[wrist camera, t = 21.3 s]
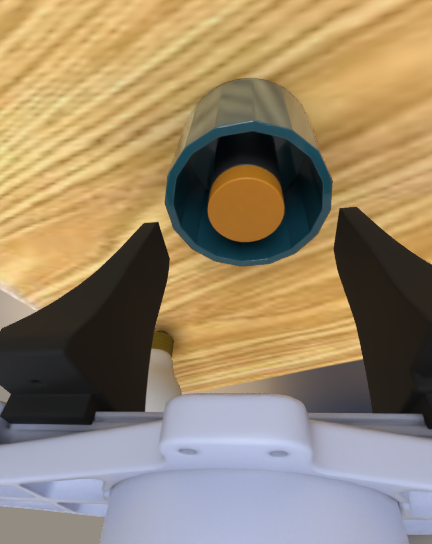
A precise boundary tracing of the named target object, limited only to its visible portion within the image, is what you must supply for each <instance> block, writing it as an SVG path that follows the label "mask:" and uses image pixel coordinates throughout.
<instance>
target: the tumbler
mask: <svg viewBox="0 0 432 544" xmlns="http://www.w3.org/2000/svg"><path fill="white" fill-rule="evenodd" d="M251 131H255V132H259V133H263V134H268V135H271V137H272V138H273V140H274V143H275V148H276V154H277V161H278V167H279V174H280V180H281V186H282V193H283V199H284V206H285V211H284V216H283V219H282V221H281V223H280V225H279V226H278V228H277V229H276V230H275V231H274V232H273V233H271V234H270V235H268V236H267V237H265V238H263V239H260V240H257V241H252V242H238V241H234V240H231V239H228V238H226V237H224V236H222V235H221V234H220V233H218V232H217V231H216V230H215V228H214V227H213V226H212V224H211V222H210V220H209V217H208V202H209V195H210V188H211V181H212V174H213V167H214V160H215V153H216V147H217V143H218V141H219V139H220V137H221V136H227V135H233V134H239V133H245V132H251ZM332 183H333V181H332V177H331V175H330V172H329V170H328V167H327V164H326V162H325V159H324V156H323V154H322V151H321V149H320V146H319V143H318V141H317V138H316V136H315V133H314V130H313V128H312V126H311V123H310V121H309V119H308V116H307V114H306V112H305V110H304V108H303V106H302V104H301V103H300V102H299V101H298V100H297V99H296V98H295V97H294V96H293V95H292V94H291V93H290V92H289V91H287V90H286V89H285V88H283V87H281V86H279V85H277V84H276V83H273V82H270V81H267V80H262V79H256V78H245V79H237V80H233V81H230V82H227V83H224V84H222V85H220V86H218V87H216V88H215V89H213V90H211V91H210V92H209V93H208V94H206V95H205V96H204V97H203V98H202V99H201V100H200V101H199V102H198V103H197V105H196V106H195V108H194V109H193V111H192V112H191V114H190V116H189V118H188V120H187V122H186V124H185V126H184V129H183V132H182V134H181V137H180V140H179V143H178V146H177V149H176V152H175V155H174V158H173V161H172V164H171V167H170V170H169V173H168V176H167V185H166V194H165V206H166V209H167V211H168V214H169V217H170V220H171V223H172V226H173V228H174V230H175V231H176V232H177V233H178V234H179V235H180V237H181V238H182V239H183V240H184V241H185V242H186V243H187V244H188V245H189V247H190V248H192V249H193V250H195V251H197V252H198V253H200V254H202V255H204V256H206V257H208V258H210V259H211V260H213V261H216V262H221V263H226V264H231V265H236V266H253V265H264V264H271V263H273V262H275V261H278V260H280V259H283V258H285V257H288V256H290V255H293V254H295V253H297V252H298V251H299V250H300V249H301V248H302V247H304V246H305V245H306V244H307V243H308V242H309V241H311V240H312V239H313V238H314V237H315V236H316V235H317V234H318V232H319V231H320V229H321V227H322V225H323V223H324V221H325V220H326V218H327V216H328V214H329V212H330V210H331V199H332Z"/></svg>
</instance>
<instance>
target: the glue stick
mask: <svg viewBox="0 0 432 544" xmlns="http://www.w3.org/2000/svg"><path fill="white" fill-rule="evenodd" d="M284 211H285V206H284V199H283V193H282V186H281V180H280V174H279V167H278V161H277V154H276V148H275V143H274V140H273V138H272V137H271V135H268V134H263V133H259V132H255V131H251V132H245V133H239V134H233V135H227V136H221V137H220V139H219V141H218V143H217V147H216V153H215V160H214V167H213V174H212V181H211V188H210V195H209V202H208V217H209V220H210V222H211V224H212V226H213V227H214V228H215V230H216V231H217V232H218V233H220V234H221V235H222V236H224V237H226V238H228V239H231V240H234V241H238V242H252V241H257V240H260V239H263V238H265V237H267V236H268V235H270V234H271V233H273V232H274V231H275V230H276V229H277V228H278V226H279V225H280V223H281V221H282V219H283V216H284Z"/></svg>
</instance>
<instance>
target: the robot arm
mask: <svg viewBox="0 0 432 544" xmlns="http://www.w3.org/2000/svg"><path fill="white" fill-rule="evenodd" d="M334 254H335V260H336V265H337V270H338V273H339V276H340V279H341V282H342V285H343V288H344V291H345V294H346V296H347V299H348V302H349V305H350V308H351V311H352V314H353V317H354V320H355V323H356V327H357V332H358V336H359V341H360V345H361V350H362V355H363V360H364V365H365V370H366V375H367V381H368V387H369V392H370V398H371V405H372V411H373V413H307V410H306V408H305V406H304V404H303V403H302V402H300V401H299V400H297V399H295V398H292V397H290V396H288V395H279V394H271V393H263V394H261V393H259V394H258V393H251V394H250V393H246V394H245V393H236V394H235V393H234V394H233V393H232V394H231V393H230V394H228V393H225V394H223V393H222V394H221V393H220V394H218V393H216V394H215V393H213V394H212V393H210V394H206V393H205V394H204V393H203V394H201V393H200V394H199V393H197V394H186V395H178V396H176V397H175V398H173V399H171V400H170V401H168V402H167V403H166V404H165V410H164V412H145V406H146V393H147V383H148V372H149V364H150V356H151V349H152V342H153V335H154V329H155V325H156V321H157V317H158V313H159V309H160V306H161V302H162V298H163V295H164V291H165V287H166V283H167V278H168V271H169V261H170V258H169V255H168V252H167V249H166V246H165V242H164V239H163V236H162V233H161V230H160V226H159V223H158V222H153V223H144V224H143V225H142V226H141V227H140V228H139V229H138V230H137V231H136V232H135V233H134V234H133V235H132V236H131V237H130V238H129V240H128V241H127V242H126V243H125V244H124V245H123V246H122V247H121V248H120V249H119V250H118V251H117V252H116V253H115V254H114V255H113V256H112V257H111V258H110V259H109V260H108V261H107V262H106V263H105V264H104V265H103V266H102V267H100V268H99V269H98V270H97V271H96V272H95V273H94V274H92V275H91V276H90V277H89V278H87V279H86V280H85V281H84V282H82V283H81V284H80V285H78V286H77V287H75V288H74V289H72V290H71V291H70V292H68V293H67V294H65V295H64V296H62V297H61V298H59V299H58V300H56V301H54V302H53V303H51V304H49V305H48V306H46V307H44V308H42V309H41V310H39V311H37V312H35V313H33V314H31V315H30V316H27V317H25V318H23V319H21V320H19V321H17V322H15V323H13V324H11V325H9V326H7V327H4V328H2V329H1V331H0V385H1V386H2V387H3V388H4V389H6V390H7V391H8V392H9V393H11V396H10V398H9V400H8V401H7V403H5V402H2V401H0V506H6V507H17V508H28V509H37V510H47V511H56V512H65V513H74V514H82V515H91V516H100V517H105V521H104V525H103V529H102V533H101V537H100V541H99V544H409V541H408V538H407V534H419V535H420V534H421V535H422V534H423V535H428V534H432V265H431V264H430V263H428V262H426V261H425V260H423V259H421V258H420V257H418V256H417V255H415V254H414V253H412V252H411V251H409V250H408V249H407V248H405V247H404V246H402V245H401V244H400V243H398V242H397V241H396V240H394V239H393V238H392V237H391V236H389V235H388V234H387V233H386V232H385V231H383V230H382V229H381V228H380V227H379V226H377V225H376V224H375V223H374V222H373V221H372V220H371V219H370V218H368V217H367V216H366V215H365V214H364V213H363V212H362V211H361V210H360V209H358V208H357V207H349V208H340V210H339V216H338V223H337V230H336V236H335V243H334Z"/></svg>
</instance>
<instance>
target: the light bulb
mask: <svg viewBox="0 0 432 544" xmlns="http://www.w3.org/2000/svg"><path fill="white" fill-rule="evenodd" d="M173 343H174V340H173V338H172V337H171V336H170V335H168V334H167V333H166V332H164V331H159V332H155V333H154V335H153V342H152V349H151V356H150V364H149V372H148V383H147V393H146V406H145V412H164V410H165V404H166V403H167V402H168V401H170V400H171V399H173V398H175V397H176V396H178V395H182V393H181V389H180V386H179V384H178V382H177V380H176V377H175V375H174V371H173V361H172V352H173V345H174V344H173Z"/></svg>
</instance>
